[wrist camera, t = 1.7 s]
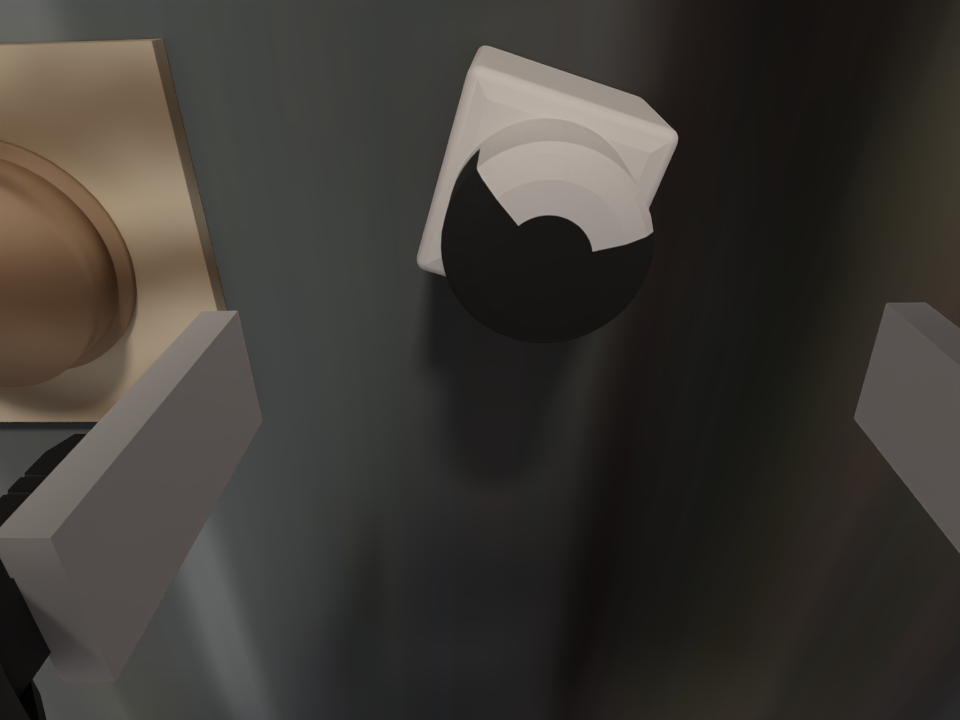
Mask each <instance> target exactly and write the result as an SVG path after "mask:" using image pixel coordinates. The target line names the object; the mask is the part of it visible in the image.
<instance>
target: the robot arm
mask: <svg viewBox="0 0 960 720" xmlns="http://www.w3.org/2000/svg"><path fill="white" fill-rule="evenodd" d="M854 420H855V421H856V422H857V423H858V425H859V426H860V427H861V428H862V430H863V431H864V432H865V434H866V435H867V436H868V437H869V439H870V440H871V441H872V442H873V444H874V445H875V446H876V448H877V449H878V450H879V451H880V453H881V454H882V455H883V456H884V458H885V459H886V460H887V461H888V463H889V464H890V465H891V467H892V468H893V469H894V470H895V472H896V473H897V474H898V475H899V477H900V478H901V479H902V481H903V482H904V483H905V484H906V486H907V487H908V488H909V489H910V491H911V492H912V493H913V495H914V496H915V497H916V498H917V500H918V501H919V502H920V503H921V505H922V506H923V507H924V508H925V510H926V511H927V512H928V514H929V515H930V516H931V517H932V519H933V520H934V521H935V522H936V524H937V525H938V526H939V528H940V529H941V530H942V531H943V533H944V534H945V535H946V536H947V538H948V539H949V540H950V542H951V543H952V544H953V545H954V547H955V548H956V549H957V550H958V552H959V553H960V328H958V327H957V326H956V325H954V324H953V323H952V322H951V321H949V320H948V319H947V318H945V317H944V316H943V315H941V314H940V313H939V312H938V311H936V310H935V309H934V308H932V307H931V306H930V305H928V304H927V303H926V302H920V303H886V305H885V309H884V312H883V316H882V319H881V323H880V326H879V330H878V334H877V337H876V341H875V344H874V348H873V351H872V355H871V359H870V362H869V366H868V369H867V373H866V376H865V380H864V383H863V387H862V391H861V394H860V398H859V401H858V405H857V408H856V412H855V416H854ZM261 422H262V417H261V413H260V408H259V404H258V399H257V395H256V390H255V386H254V381H253V377H252V372H251V368H250V363H249V359H248V354H247V350H246V345H245V341H244V336H243V332H242V327H241V323H240V318H239V314H238V311H202V312H201V313H200V314H199V315H198V316H197V317H196V318H195V319H194V320H193V321H192V322H191V323H190V324H189V325H188V327H187V328H186V329H185V330H184V331H183V332H182V333H181V334H180V335H179V336H178V337H177V338H176V339H175V340H174V342H173V343H172V344H171V345H170V346H169V347H168V348H167V349H166V350H165V351H164V352H163V353H162V354H161V355H160V357H159V358H158V359H157V360H156V361H155V362H154V363H153V364H152V365H151V366H150V367H149V368H148V369H147V370H146V372H145V373H144V374H143V375H142V376H141V377H140V378H139V379H138V380H137V381H136V382H135V383H134V384H133V385H132V387H131V388H130V389H129V390H128V391H127V392H126V393H125V394H124V395H123V396H122V397H121V398H120V399H119V400H118V402H117V403H116V404H115V405H114V406H113V407H112V408H111V409H110V410H109V411H108V412H107V413H106V414H105V415H104V417H103V418H102V419H101V420H100V421H99V422H98V423H97V424H96V425H95V426H94V427H93V428H92V429H91V430H90V432H89V433H88V434H74V435H72V436H71V437H69V438H68V439H66V440H64V441H63V442H61V443H59V444H58V445H56V446H55V447H53V448H51V449H50V450H48V451H46V452H45V453H44V454H43V455H42V456H41V457H40V458H39V459H38V460H37V461H36V462H35V463H34V464H33V465H32V466H31V467H30V468H29V469H28V470H27V471H26V472H25V477H20V478H19V479H18V480H17V481H16V482H15V483H14V484H13V485H12V486H11V488H10V489H9V490H8V494H7V495H3V496H2V497H1V498H0V720H46V716H45V712H44V708H43V703H42V699H41V695H40V693H39V691H38V689H37V687H36V685H35V683H34V681H33V680H32V679H33V678H34V676H35V675H36V673H37V672H38V670H39V669H40V667H41V666H42V664H43V663H44V662H45V660H46V659H47V657H48V656H50V658H51V660H52V662H53V664H54V665H55V667H56V669H57V671H58V673H59V675H60V677H61V679H62V681H63V682H84V683H115V682H116V680H117V678H118V677H119V675H120V673H121V671H122V670H123V668H124V666H125V664H126V662H127V661H128V659H129V657H130V655H131V654H132V652H133V650H134V648H135V646H136V645H137V643H138V641H139V639H140V638H141V636H142V634H143V632H144V630H145V629H146V627H147V625H148V623H149V622H150V620H151V618H152V616H153V614H154V613H155V611H156V609H157V607H158V606H159V604H160V602H161V600H162V598H163V597H164V595H165V593H166V591H167V590H168V588H169V586H170V584H171V582H172V581H173V579H174V577H175V575H176V574H177V572H178V570H179V568H180V566H181V565H182V563H183V561H184V559H185V558H186V556H187V554H188V552H189V550H190V549H191V547H192V545H193V543H194V542H195V540H196V538H197V536H198V534H199V533H200V531H201V529H202V527H203V526H204V524H205V522H206V520H207V518H208V517H209V515H210V513H211V511H212V510H213V508H214V506H215V504H216V502H217V501H218V499H219V497H220V495H221V494H222V492H223V490H224V488H225V486H226V485H227V483H228V481H229V479H230V478H231V476H232V474H233V472H234V470H235V469H236V467H237V465H238V463H239V462H240V460H241V458H242V456H243V454H244V453H245V451H246V449H247V447H248V446H249V444H250V442H251V440H252V438H253V437H254V435H255V433H256V431H257V430H258V428H259V426H260V424H261Z"/></svg>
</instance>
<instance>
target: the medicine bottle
mask: <svg viewBox="0 0 960 720" xmlns="http://www.w3.org/2000/svg"><path fill="white" fill-rule="evenodd" d="M677 142H678V136H677V133H676V132H675V131H674V130H673V129H672V128H671V127H670V126H669V125H668V124H667V123H666V122H665V121H664V120H663V119H662V118H661V117H660V116H659V115H658V114H657V113H656V112H655V111H654V110H653V109H652V108H651V107H650V106H649V105H648V104H647V103H646V102H645V101H644V100H643V99H642V98H640V97H638V96H635V95H632V94H629V93H626V92H623V91H620V90H617V89H614V88H611V87H608V86H605V85H602V84H599V83H596V82H594V81H591V80H588V79H585V78H582V77H579V76H576V75H573V74H570V73H567V72H564V71H561V70H558V69H555V68H552V67H549V66H546V65H543V64H540V63H537V62H534V61H531V60H529V59H526V58H523V57H520V56H517V55H514V54H511V53H508V52H505V51H502V50H499V49H496V48H493V47H490V46H482V47H480V48H479V49H478V51H477V53H476V55H475V57H474V59H473V62H472V64H471V66H470V68H469V70H468V73H467V75H466V79H465V83H464V86H463V90H462V94H461V97H460V101H459V105H458V108H457V112H456V116H455V119H454V123H453V127H452V130H451V134H450V138H449V141H448V145H447V149H446V152H445V156H444V159H443V163H442V167H441V170H440V174H439V178H438V181H437V185H436V189H435V192H434V196H433V200H432V203H431V207H430V211H429V214H428V218H427V222H426V225H425V229H424V233H423V236H422V240H421V243H420V247H419V251H418V254H417V263H418V265H419V267H420V268H422V269H423V270H426V271H430V272H433V273H436V274H440V275H443V276H446V277H447V280H448V282H449V285H450V287H451V289H452V290H453V292H454V294H455V296H456V297H457V299H458V300H459V301H460V303H461V304H462V305H463V307H464V308H465V309H466V310H467V311H468V312H469V313H470V314H471V315H472V316H473V317H474V318H475V319H477V320H478V321H479V322H481V323H482V324H483V325H485V326H486V327H488V328H490V329H492V330H494V331H495V332H497V333H500V334H502V335H505V336H507V337H510V338H514V339H518V340H522V341H528V342H536V343H551V342H559V341H566V340H570V339H574V338H578V337H580V336H583V335H586V334H588V333H591V332H593V331H594V330H596V329H598V328H600V327H602V326H604V325H605V324H606V323H608V322H609V321H611V320H612V319H614V318H615V317H616V316H617V315H618V314H619V313H620V312H621V311H623V310H624V309H625V308H626V306H627V305H628V304H629V303H630V302H631V300H632V299H633V298H634V297H635V295H636V293H637V292H638V290H639V289H640V287H641V285H642V283H643V281H644V279H645V277H646V275H647V272H648V269H649V265H650V262H651V258H652V251H653V226H652V220H651V215H650V212H649V207H650V205H651V203H652V200H653V198H654V196H655V193H656V191H657V189H658V187H659V184H660V182H661V180H662V178H663V175H664V173H665V171H666V168H667V166H668V164H669V162H670V159H671V157H672V155H673V153H674V150H675V148H676V146H677Z"/></svg>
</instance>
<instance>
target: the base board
mask: <svg viewBox="0 0 960 720" xmlns="http://www.w3.org/2000/svg"><path fill="white" fill-rule="evenodd" d="M202 311H227V308H226V304H225V300H224V296H223V291H222V287H221V283H220V279H219V274H218V270H217V266H216V262H215V257H214V253H213V249H212V245H211V241H210V236H209V232H208V228H207V224H206V219H205V215H204V211H203V207H202V202H201V198H200V194H199V190H198V185H197V181H196V177H195V173H194V169H193V164H192V160H191V156H190V152H189V147H188V143H187V139H186V135H185V130H184V126H183V122H182V118H181V114H180V109H179V105H178V101H177V97H176V92H175V88H174V84H173V80H172V75H171V71H170V67H169V63H168V58H167V54H166V50H165V46H164V42H163V39H138V40H106V41H75V42H43V43H11V44H0V422H99V421H100V420H101V419H102V418H103V417H104V415H105V414H106V413H107V412H108V411H109V410H110V409H111V408H112V407H113V406H114V405H115V404H116V403H117V402H118V400H119V399H120V398H121V397H122V396H123V395H124V394H125V393H126V392H127V391H128V390H129V389H130V388H131V387H132V385H133V384H134V383H135V382H136V381H137V380H138V379H139V378H140V377H141V376H142V375H143V374H144V373H145V372H146V370H147V369H148V368H149V367H150V366H151V365H152V364H153V363H154V362H155V361H156V360H157V359H158V358H159V357H160V355H161V354H162V353H163V352H164V351H165V350H166V349H167V348H168V347H169V346H170V345H171V344H172V343H173V342H174V340H175V339H176V338H177V337H178V336H179V335H180V334H181V333H182V332H183V331H184V330H185V329H186V328H187V327H188V325H189V324H190V323H191V322H192V321H193V320H194V319H195V318H196V317H197V316H198V315H199V314H200V313H201V312H202Z"/></svg>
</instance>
